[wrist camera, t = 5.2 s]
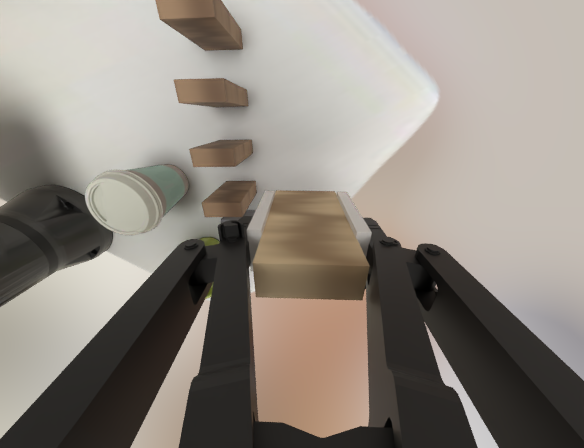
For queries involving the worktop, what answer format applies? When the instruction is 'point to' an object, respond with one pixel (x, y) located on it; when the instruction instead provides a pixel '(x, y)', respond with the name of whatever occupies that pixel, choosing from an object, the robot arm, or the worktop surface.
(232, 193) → the tile
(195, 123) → the worktop surface
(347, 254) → the tile
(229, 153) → the tile
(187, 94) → the tile
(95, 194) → the coffee cup
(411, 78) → the worktop surface
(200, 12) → the tile
